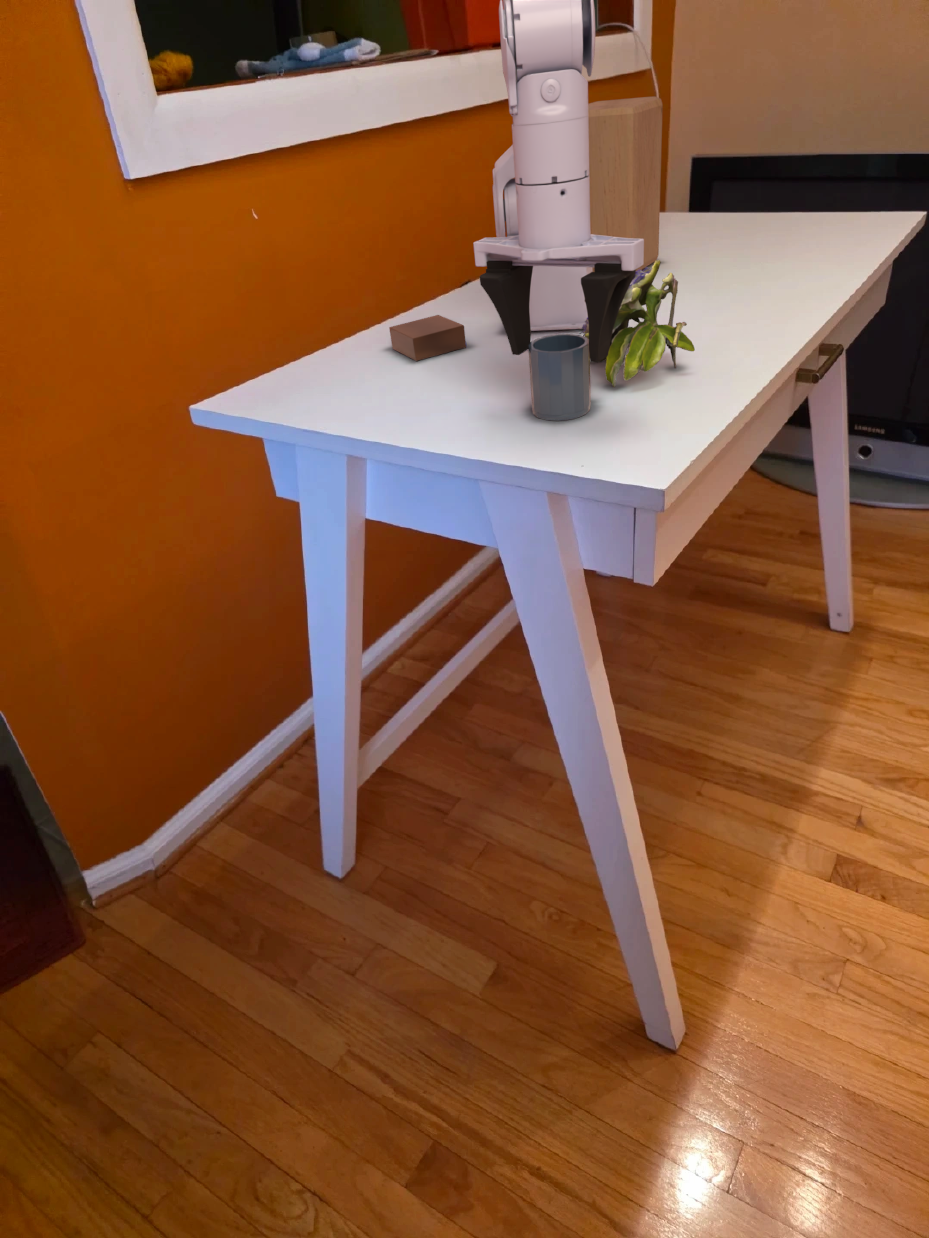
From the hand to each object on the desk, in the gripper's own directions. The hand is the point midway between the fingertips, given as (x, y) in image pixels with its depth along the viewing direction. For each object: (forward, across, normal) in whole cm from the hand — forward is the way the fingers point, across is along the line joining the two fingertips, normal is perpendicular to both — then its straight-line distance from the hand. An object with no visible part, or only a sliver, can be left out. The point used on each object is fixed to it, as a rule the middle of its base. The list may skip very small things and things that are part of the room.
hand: (559, 355), depth 71 cm
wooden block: (+5, -18, +50) cm, 53 cm away
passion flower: (+5, +2, +12) cm, 14 cm away
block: (+5, -24, +12) cm, 27 cm away
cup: (+5, 0, 0) cm, 5 cm away
